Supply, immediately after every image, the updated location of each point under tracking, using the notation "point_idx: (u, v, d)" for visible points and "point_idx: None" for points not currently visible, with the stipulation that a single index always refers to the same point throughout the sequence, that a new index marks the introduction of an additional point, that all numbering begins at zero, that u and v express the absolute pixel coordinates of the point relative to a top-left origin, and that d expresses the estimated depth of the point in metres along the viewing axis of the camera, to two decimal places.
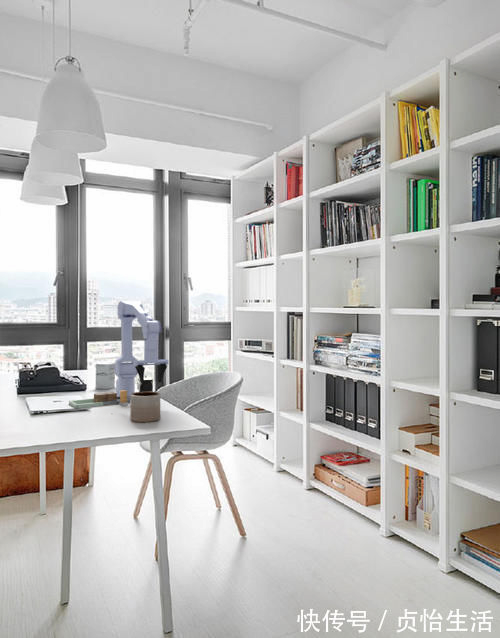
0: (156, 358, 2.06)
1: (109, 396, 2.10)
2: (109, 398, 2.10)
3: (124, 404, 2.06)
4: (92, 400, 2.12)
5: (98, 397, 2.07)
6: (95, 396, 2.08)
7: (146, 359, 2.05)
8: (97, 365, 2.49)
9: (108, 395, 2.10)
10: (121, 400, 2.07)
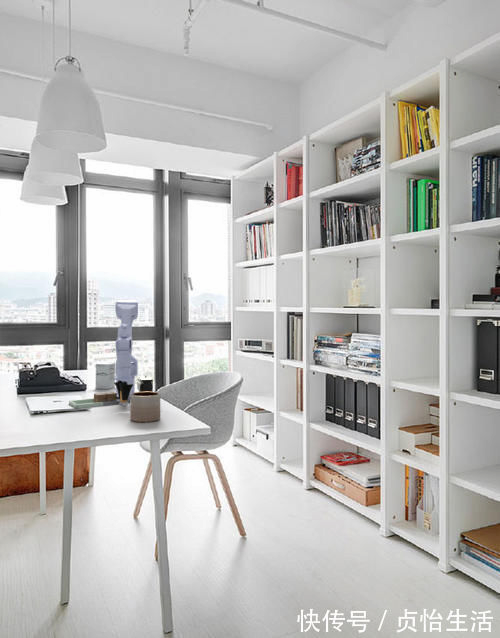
0: (119, 375, 2.05)
1: (109, 396, 2.10)
2: (109, 398, 2.10)
3: (124, 404, 2.06)
4: (92, 400, 2.12)
5: (98, 397, 2.07)
6: (95, 396, 2.08)
7: None
8: (97, 365, 2.49)
9: (108, 395, 2.10)
10: (121, 400, 2.07)
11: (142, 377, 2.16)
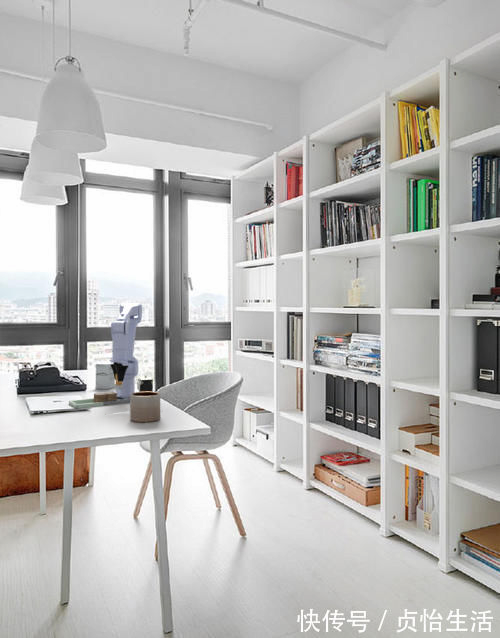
0: (114, 357, 2.12)
1: (109, 396, 2.10)
2: (109, 398, 2.10)
3: (119, 386, 2.12)
4: (92, 400, 2.12)
5: (98, 397, 2.07)
6: (95, 396, 2.08)
7: None
8: (97, 365, 2.49)
9: (108, 395, 2.10)
10: (116, 383, 2.13)
11: (142, 377, 2.16)
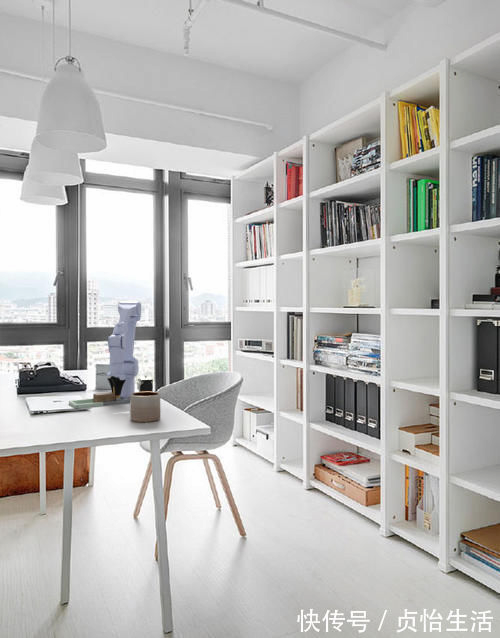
0: (112, 371, 2.11)
1: (107, 396, 2.10)
2: (107, 398, 2.10)
3: (117, 399, 2.12)
4: (92, 400, 2.12)
5: (97, 397, 2.07)
6: (94, 396, 2.08)
7: None
8: (97, 365, 2.49)
9: (106, 395, 2.09)
10: None
11: (142, 377, 2.16)
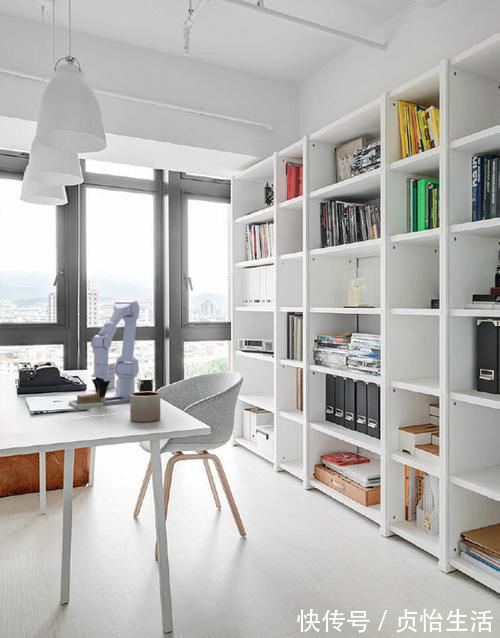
0: (96, 372, 2.07)
1: (91, 398, 2.06)
2: (91, 400, 2.06)
3: None
4: None
5: (81, 399, 2.03)
6: (78, 398, 2.04)
7: None
8: None
9: (90, 397, 2.05)
10: None
11: (142, 377, 2.16)
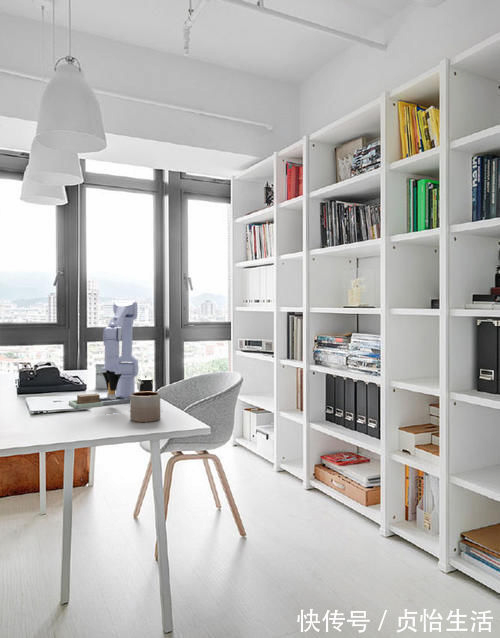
0: (107, 365, 2.01)
1: (91, 398, 2.06)
2: (91, 400, 2.06)
3: (112, 396, 2.02)
4: None
5: (81, 399, 2.03)
6: (78, 398, 2.04)
7: None
8: (97, 365, 2.49)
9: (90, 397, 2.05)
10: (109, 392, 2.03)
11: (142, 377, 2.16)
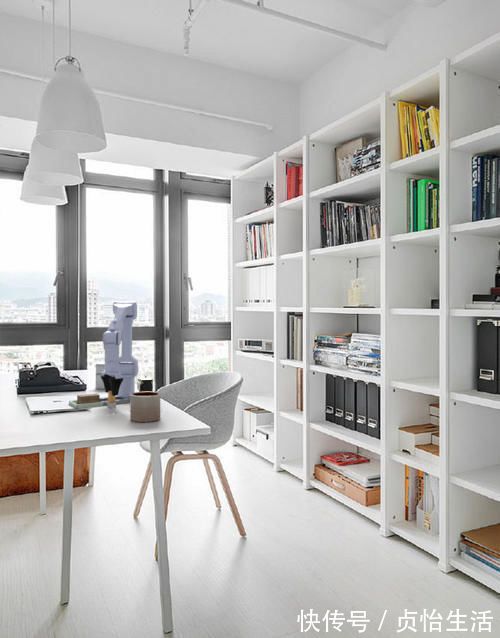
0: (107, 369, 2.01)
1: (91, 398, 2.06)
2: (91, 400, 2.06)
3: (112, 405, 2.02)
4: None
5: (81, 399, 2.03)
6: (78, 398, 2.04)
7: None
8: (97, 365, 2.49)
9: (90, 397, 2.05)
10: (109, 401, 2.03)
11: (142, 377, 2.16)
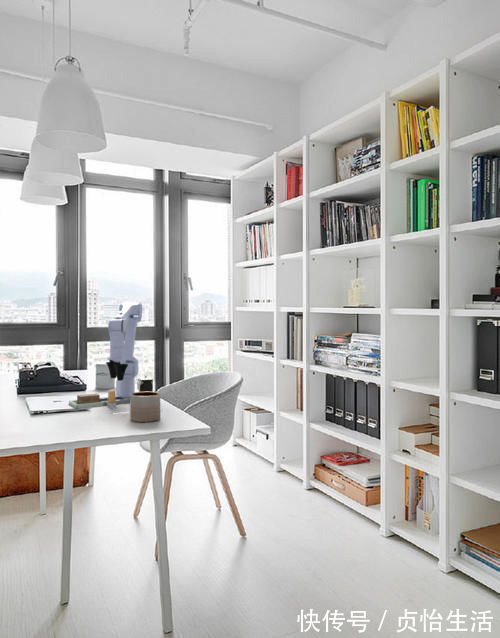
0: (112, 355, 2.10)
1: (91, 398, 2.06)
2: (91, 400, 2.06)
3: (112, 405, 2.02)
4: None
5: (81, 399, 2.03)
6: (78, 398, 2.04)
7: None
8: (97, 365, 2.49)
9: (90, 397, 2.05)
10: (109, 401, 2.03)
11: (142, 377, 2.16)
